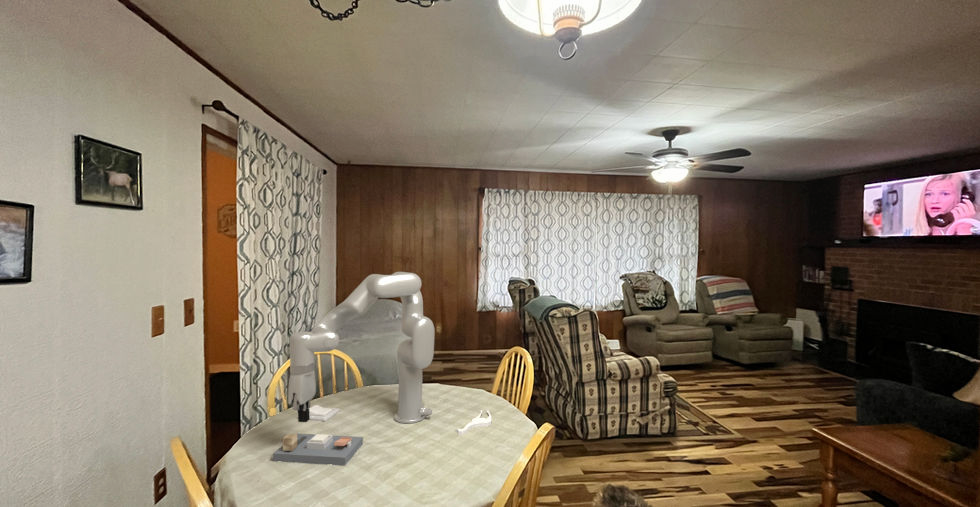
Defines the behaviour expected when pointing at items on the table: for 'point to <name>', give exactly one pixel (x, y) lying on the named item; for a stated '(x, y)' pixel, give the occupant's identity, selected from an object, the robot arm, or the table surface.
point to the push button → (320, 438)
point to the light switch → (321, 413)
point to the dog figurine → (476, 423)
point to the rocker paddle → (343, 441)
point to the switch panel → (319, 450)
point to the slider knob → (290, 442)
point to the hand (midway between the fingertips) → (303, 420)
